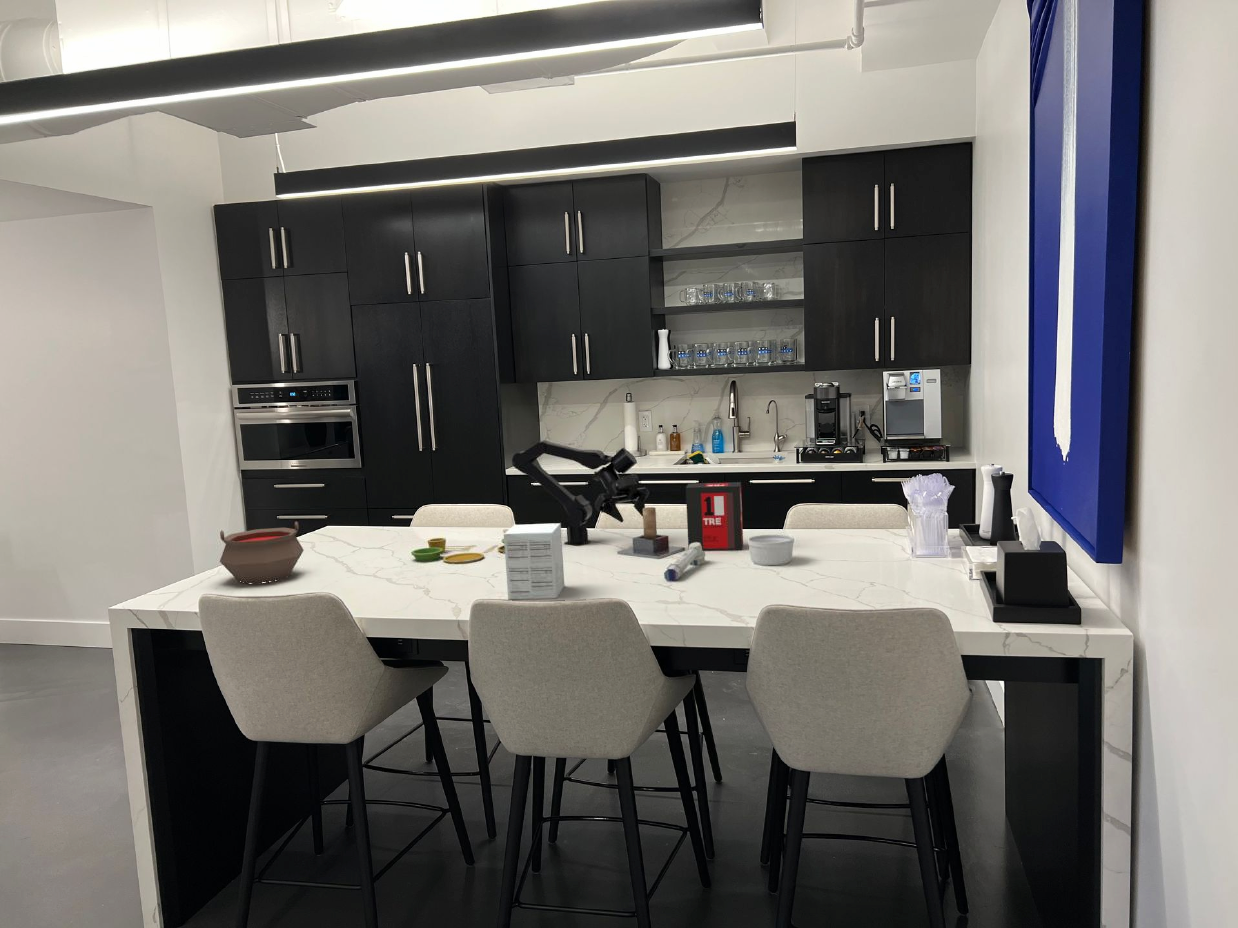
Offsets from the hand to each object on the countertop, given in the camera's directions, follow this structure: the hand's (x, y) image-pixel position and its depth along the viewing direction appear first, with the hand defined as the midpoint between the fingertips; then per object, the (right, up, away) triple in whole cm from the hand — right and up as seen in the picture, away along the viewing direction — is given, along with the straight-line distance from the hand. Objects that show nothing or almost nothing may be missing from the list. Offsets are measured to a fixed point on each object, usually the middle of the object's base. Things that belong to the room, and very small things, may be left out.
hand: (634, 519), depth 293 cm
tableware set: (-49, -12, +5) cm, 51 cm away
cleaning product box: (+26, -9, -4) cm, 27 cm away
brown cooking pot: (-112, -17, -14) cm, 115 cm away
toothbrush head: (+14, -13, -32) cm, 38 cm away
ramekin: (+39, -11, -27) cm, 49 cm away
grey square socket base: (+5, -10, -5) cm, 12 cm away
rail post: (+5, -9, -5) cm, 12 cm away
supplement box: (-27, -17, -48) cm, 58 cm away
